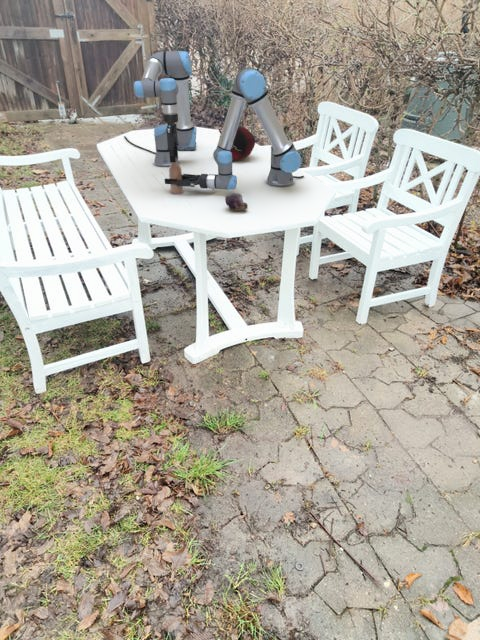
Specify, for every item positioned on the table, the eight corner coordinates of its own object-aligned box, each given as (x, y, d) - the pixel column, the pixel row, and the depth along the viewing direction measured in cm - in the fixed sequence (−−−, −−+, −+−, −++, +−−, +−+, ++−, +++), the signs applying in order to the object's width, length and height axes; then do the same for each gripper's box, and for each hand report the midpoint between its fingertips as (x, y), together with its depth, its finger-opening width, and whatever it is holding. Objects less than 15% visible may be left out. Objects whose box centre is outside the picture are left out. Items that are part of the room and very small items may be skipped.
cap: (171, 159, 241) (170, 156, 240) (178, 159, 241) (178, 156, 240) (170, 161, 237) (169, 158, 236) (177, 161, 237) (177, 158, 236)
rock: (239, 207, 231) (221, 210, 227) (238, 190, 228) (220, 192, 223) (250, 210, 222) (232, 213, 218) (249, 193, 218) (231, 195, 214)
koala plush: (196, 150, 320) (194, 121, 309) (171, 151, 319) (168, 122, 308) (196, 145, 335) (194, 116, 324) (172, 145, 334) (169, 117, 322)
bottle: (175, 189, 252) (172, 156, 242) (185, 190, 250) (182, 157, 240) (168, 192, 247) (165, 159, 237) (179, 194, 245) (176, 161, 235)
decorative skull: (216, 132, 306) (216, 129, 283) (250, 124, 306) (252, 120, 282) (223, 164, 313) (223, 164, 290) (256, 156, 312) (259, 156, 289)
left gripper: (167, 109, 234) (171, 155, 247) (158, 116, 218) (163, 165, 231) (181, 109, 233) (184, 155, 246) (173, 117, 218) (177, 165, 231)
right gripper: (203, 194, 236) (162, 191, 240) (212, 182, 252) (173, 180, 256) (202, 180, 232) (160, 177, 235) (212, 169, 248) (172, 167, 251)
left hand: (174, 160), depth 239 cm, fingers open, 6 cm apart
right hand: (167, 179), depth 245 cm, fingers closed on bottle, 7 cm apart
